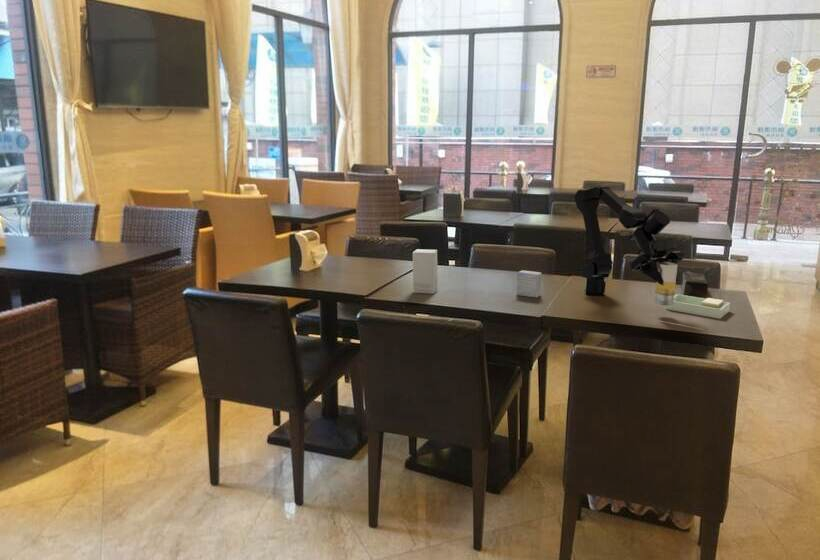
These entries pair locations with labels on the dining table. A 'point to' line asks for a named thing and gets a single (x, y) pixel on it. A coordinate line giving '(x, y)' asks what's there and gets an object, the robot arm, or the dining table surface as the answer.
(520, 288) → the medicine box
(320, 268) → the dining table surface
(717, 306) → the butter box
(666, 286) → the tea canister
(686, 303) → the tote
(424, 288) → the skincare box
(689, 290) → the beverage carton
